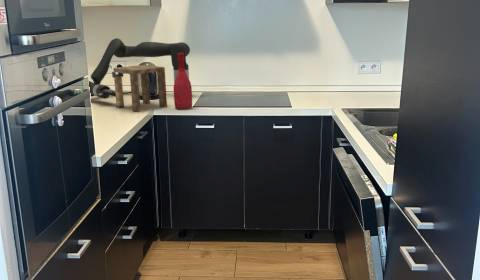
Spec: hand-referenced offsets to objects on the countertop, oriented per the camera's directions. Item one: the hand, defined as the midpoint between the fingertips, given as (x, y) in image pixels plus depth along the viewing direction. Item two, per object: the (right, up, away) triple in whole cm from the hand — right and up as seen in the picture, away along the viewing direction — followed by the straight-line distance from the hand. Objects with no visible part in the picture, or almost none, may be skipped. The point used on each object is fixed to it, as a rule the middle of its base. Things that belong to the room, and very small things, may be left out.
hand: (116, 94), depth 268 cm
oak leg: (+2, -7, 0) cm, 8 cm away
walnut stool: (+14, -7, -1) cm, 16 cm away
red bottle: (+38, -8, -6) cm, 39 cm away
